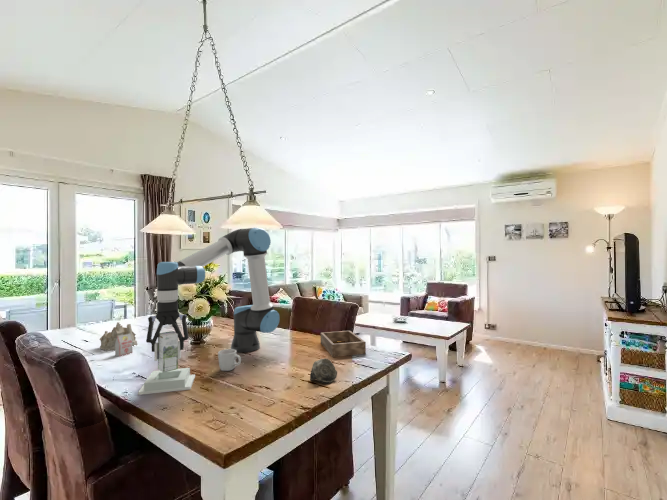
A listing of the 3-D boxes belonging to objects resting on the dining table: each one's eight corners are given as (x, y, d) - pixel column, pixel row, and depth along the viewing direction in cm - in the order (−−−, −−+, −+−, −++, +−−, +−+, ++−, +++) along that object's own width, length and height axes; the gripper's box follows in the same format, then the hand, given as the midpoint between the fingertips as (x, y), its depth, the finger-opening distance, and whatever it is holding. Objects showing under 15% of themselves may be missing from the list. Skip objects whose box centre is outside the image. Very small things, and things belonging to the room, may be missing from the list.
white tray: (195, 376, 146) (195, 367, 146) (190, 389, 133) (190, 378, 133) (147, 381, 142) (147, 371, 142) (138, 394, 128) (138, 384, 128)
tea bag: (115, 355, 178) (115, 336, 178) (128, 352, 184) (128, 333, 184) (119, 356, 177) (119, 336, 177) (132, 353, 183) (132, 333, 183)
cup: (245, 368, 157) (245, 350, 157) (235, 373, 149) (235, 355, 149) (225, 365, 160) (225, 348, 160) (214, 371, 153) (214, 353, 153)
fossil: (327, 385, 133) (316, 361, 136) (310, 392, 138) (300, 368, 140) (342, 376, 143) (331, 353, 145) (326, 382, 147) (316, 360, 149)
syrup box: (172, 366, 141) (172, 330, 141) (178, 369, 137) (178, 332, 137) (157, 369, 137) (157, 332, 137) (163, 373, 133) (162, 335, 133)
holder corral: (349, 340, 202) (349, 330, 202) (365, 353, 176) (365, 341, 176) (320, 343, 197) (320, 332, 197) (332, 356, 172) (332, 344, 172)
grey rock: (141, 344, 199) (139, 318, 199) (110, 353, 185) (108, 324, 185) (126, 342, 207) (124, 317, 207) (96, 350, 193) (93, 323, 193)
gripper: (196, 298, 144) (196, 354, 144) (141, 300, 138) (141, 358, 138) (194, 301, 136) (194, 359, 136) (136, 303, 131) (136, 364, 131)
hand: (168, 358), depth 137 cm, fingers closed on syrup box, 8 cm apart
